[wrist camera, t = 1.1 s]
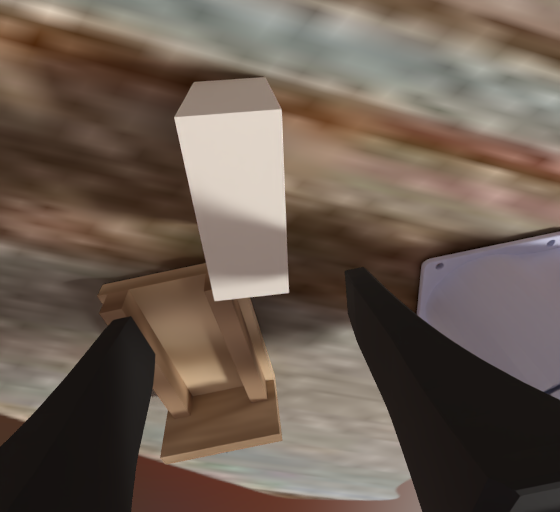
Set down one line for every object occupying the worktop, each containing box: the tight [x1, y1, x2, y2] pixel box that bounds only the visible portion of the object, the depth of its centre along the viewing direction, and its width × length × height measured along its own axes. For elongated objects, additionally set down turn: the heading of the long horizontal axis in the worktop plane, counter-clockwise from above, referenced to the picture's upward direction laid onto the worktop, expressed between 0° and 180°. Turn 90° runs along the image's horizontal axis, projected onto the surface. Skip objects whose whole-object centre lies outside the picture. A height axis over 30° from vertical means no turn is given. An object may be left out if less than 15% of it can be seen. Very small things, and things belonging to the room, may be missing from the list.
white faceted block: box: [174, 77, 289, 301], centre depth 14 cm, size 3×7×6 cm, turn 3°
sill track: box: [97, 263, 282, 464], centre depth 21 cm, size 12×8×5 cm, turn 10°
